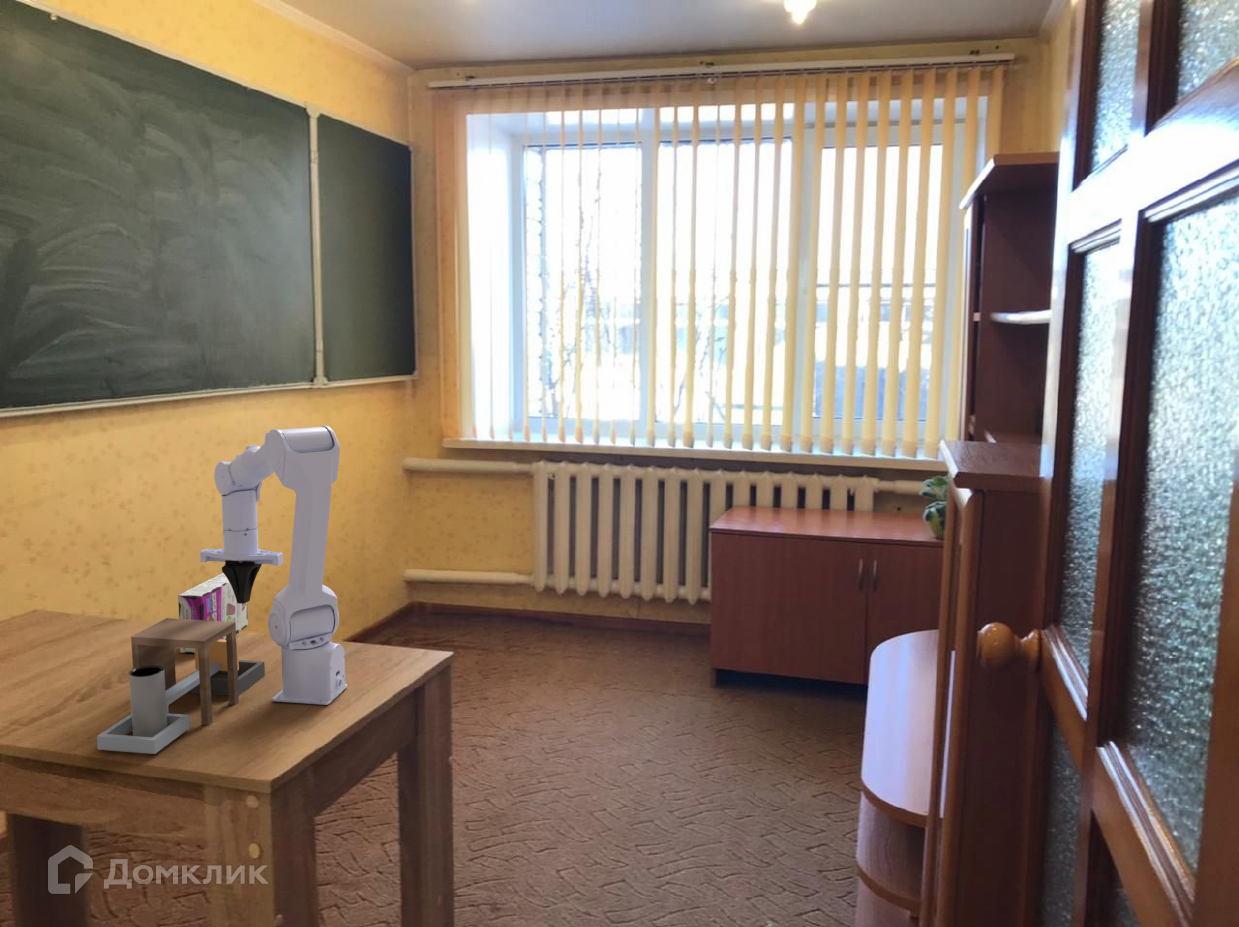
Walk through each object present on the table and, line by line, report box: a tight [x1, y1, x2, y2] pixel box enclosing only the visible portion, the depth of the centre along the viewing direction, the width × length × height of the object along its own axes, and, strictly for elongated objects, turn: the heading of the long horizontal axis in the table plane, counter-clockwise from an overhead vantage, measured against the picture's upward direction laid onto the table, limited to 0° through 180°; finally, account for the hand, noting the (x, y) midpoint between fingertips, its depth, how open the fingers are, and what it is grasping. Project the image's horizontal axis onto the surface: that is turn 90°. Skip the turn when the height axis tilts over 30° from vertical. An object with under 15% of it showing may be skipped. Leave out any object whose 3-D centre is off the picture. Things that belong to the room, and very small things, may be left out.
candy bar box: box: [177, 572, 249, 654], centre depth 177 cm, size 11×5×16 cm
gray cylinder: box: [128, 665, 167, 737], centre depth 135 cm, size 4×4×10 cm
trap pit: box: [186, 659, 266, 696], centre depth 156 cm, size 9×9×2 cm
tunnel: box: [130, 617, 240, 726], centre depth 144 cm, size 12×9×13 cm
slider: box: [96, 639, 240, 755], centre depth 142 cm, size 9×24×8 cm, turn 173°
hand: (243, 601), depth 167 cm, fingers closed
